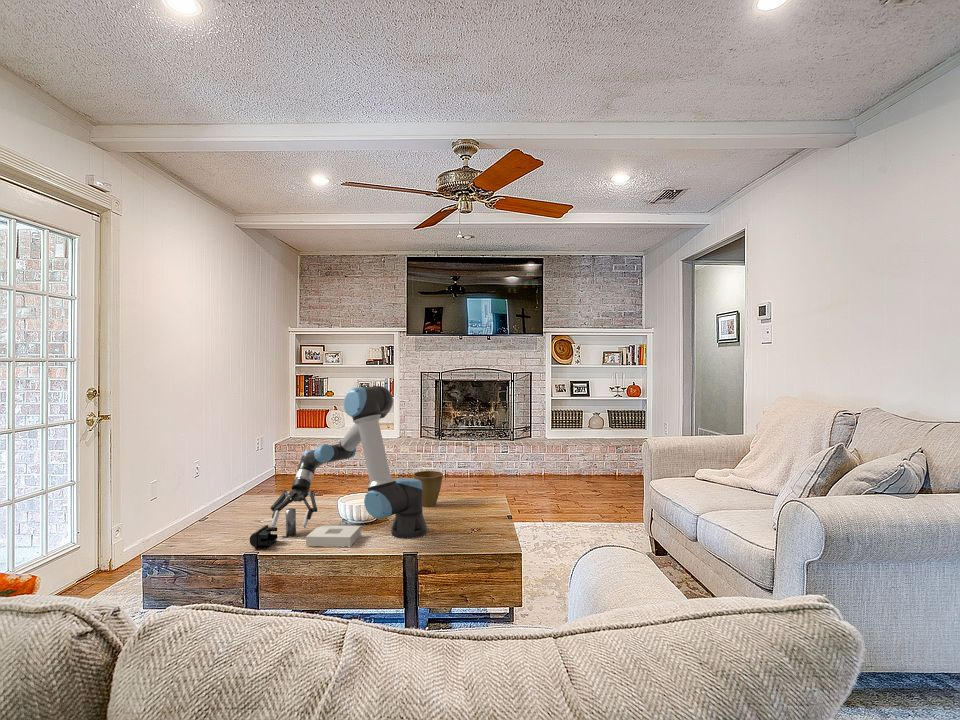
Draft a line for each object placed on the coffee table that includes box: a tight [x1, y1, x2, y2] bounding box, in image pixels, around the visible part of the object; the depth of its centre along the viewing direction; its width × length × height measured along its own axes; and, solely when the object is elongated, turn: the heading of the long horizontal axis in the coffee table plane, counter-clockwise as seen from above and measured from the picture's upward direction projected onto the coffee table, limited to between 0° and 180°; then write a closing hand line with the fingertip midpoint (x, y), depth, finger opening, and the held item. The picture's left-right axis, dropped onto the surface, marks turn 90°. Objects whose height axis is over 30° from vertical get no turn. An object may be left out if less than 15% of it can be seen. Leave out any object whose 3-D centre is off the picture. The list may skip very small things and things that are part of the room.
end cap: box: [249, 524, 278, 550], centre depth 216 cm, size 10×7×7 cm
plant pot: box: [412, 470, 444, 508], centre depth 270 cm, size 15×15×16 cm
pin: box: [285, 507, 297, 537], centre depth 227 cm, size 4×4×11 cm
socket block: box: [305, 524, 362, 548], centre depth 219 cm, size 18×14×4 cm
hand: (288, 526), depth 225 cm, fingers open, 13 cm apart
